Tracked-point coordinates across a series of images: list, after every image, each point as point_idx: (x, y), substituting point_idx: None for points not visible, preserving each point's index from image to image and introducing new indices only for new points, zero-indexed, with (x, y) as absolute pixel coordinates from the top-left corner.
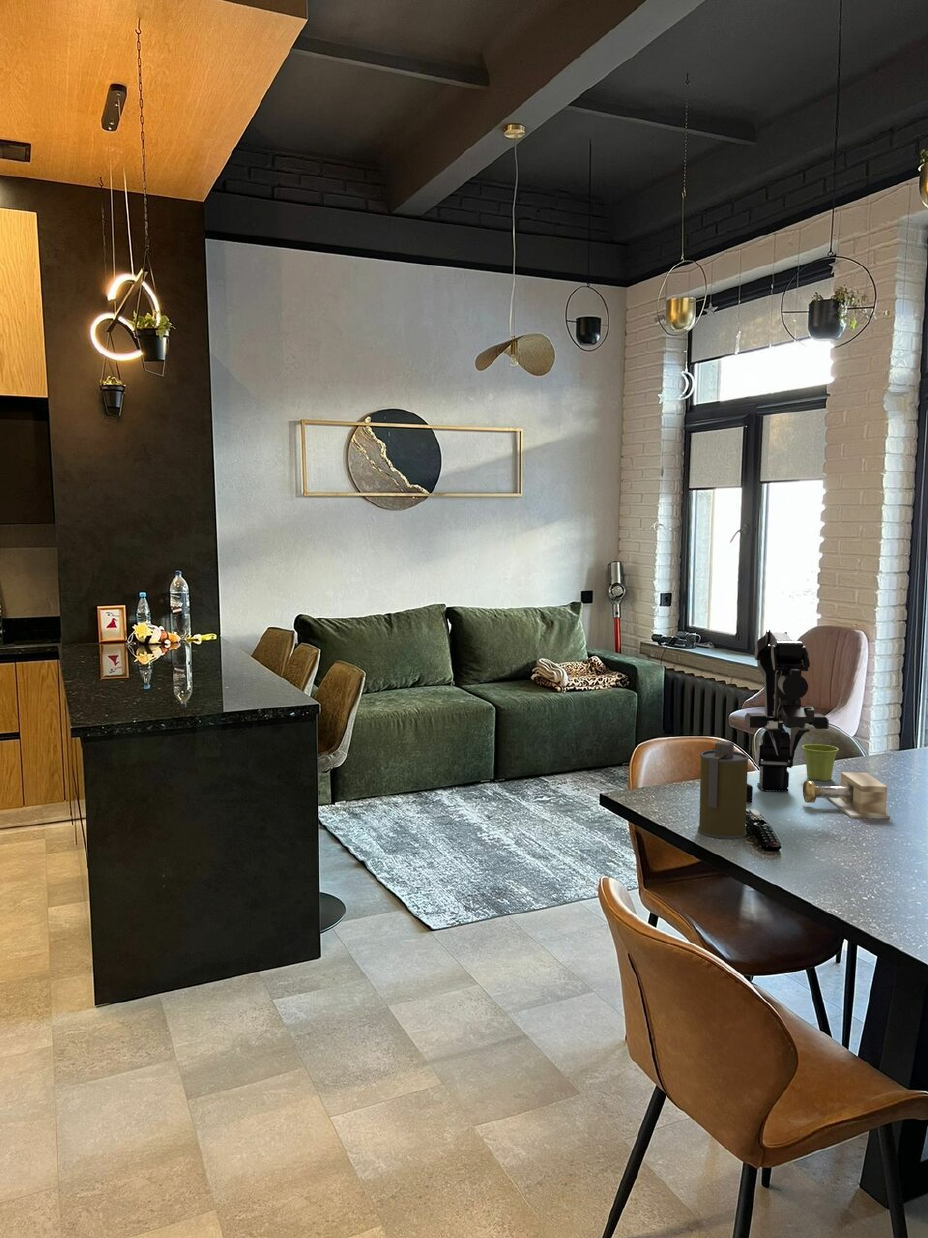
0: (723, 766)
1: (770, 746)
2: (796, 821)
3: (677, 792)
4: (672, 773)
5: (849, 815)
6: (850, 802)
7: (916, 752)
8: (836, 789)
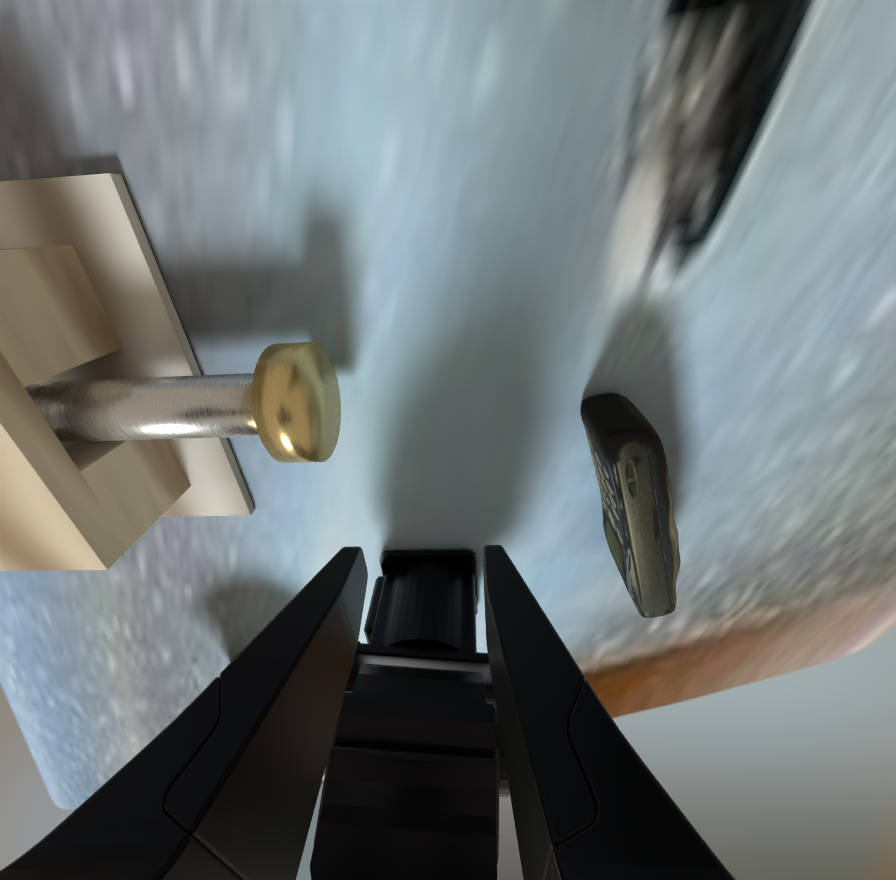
0: None
1: (457, 759)
2: (446, 19)
3: (841, 518)
4: (709, 690)
5: (127, 202)
6: None
7: (57, 804)
8: (145, 397)
